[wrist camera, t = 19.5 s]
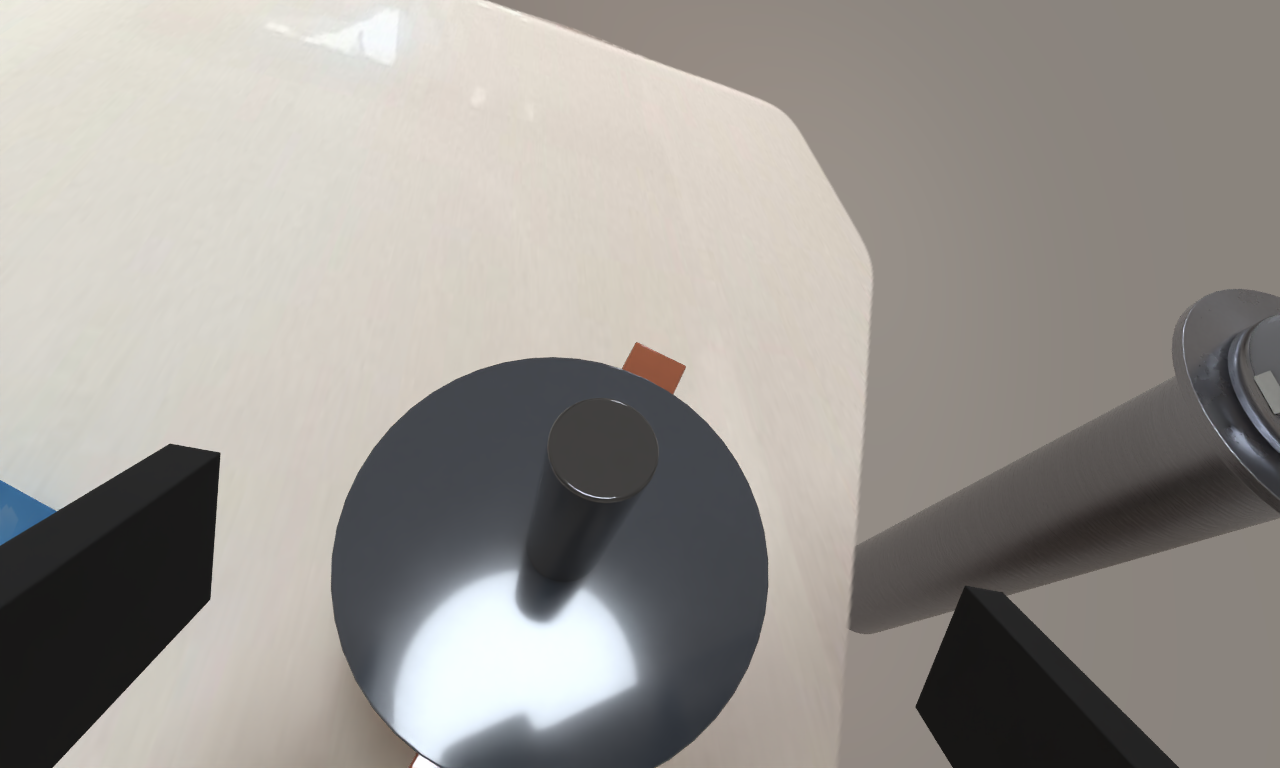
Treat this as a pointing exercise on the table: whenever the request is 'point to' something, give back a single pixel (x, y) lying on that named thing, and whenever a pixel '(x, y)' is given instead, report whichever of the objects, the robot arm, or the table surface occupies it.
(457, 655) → the lid
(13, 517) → the perfume bottle
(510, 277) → the table surface
